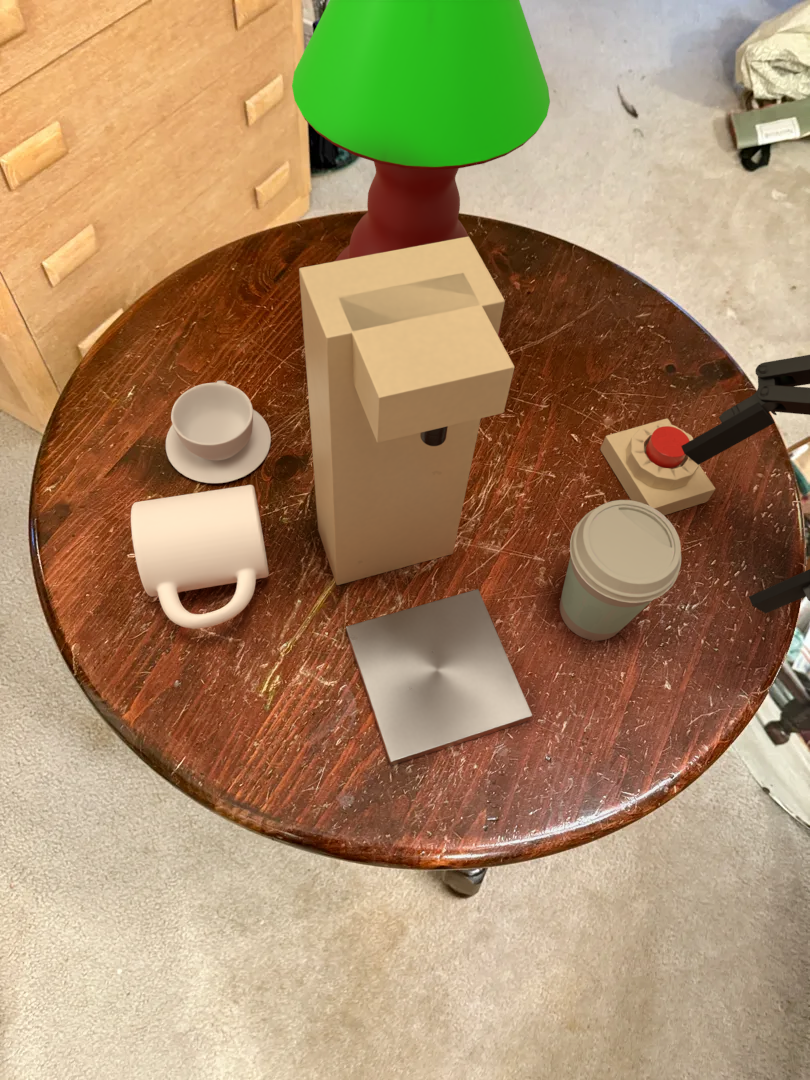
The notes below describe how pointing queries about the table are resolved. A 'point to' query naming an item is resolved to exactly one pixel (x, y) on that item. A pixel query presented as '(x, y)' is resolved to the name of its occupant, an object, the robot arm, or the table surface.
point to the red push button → (667, 447)
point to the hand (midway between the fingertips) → (721, 526)
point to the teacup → (216, 434)
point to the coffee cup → (617, 567)
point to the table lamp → (420, 104)
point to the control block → (655, 471)
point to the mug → (199, 549)
